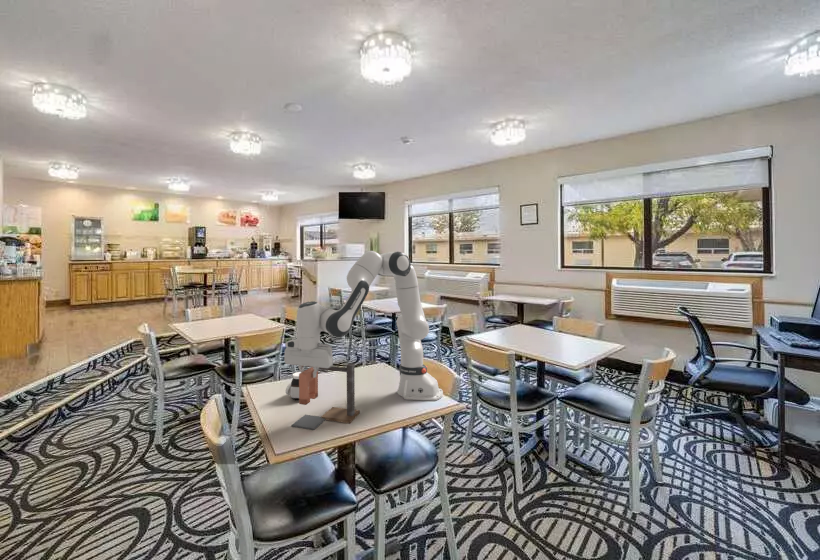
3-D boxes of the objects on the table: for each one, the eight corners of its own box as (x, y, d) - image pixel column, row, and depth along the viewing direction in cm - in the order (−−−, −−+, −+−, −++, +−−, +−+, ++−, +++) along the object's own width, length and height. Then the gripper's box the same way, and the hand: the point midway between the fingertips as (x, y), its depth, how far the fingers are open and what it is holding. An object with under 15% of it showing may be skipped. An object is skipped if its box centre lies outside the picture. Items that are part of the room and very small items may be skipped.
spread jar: (305, 402, 166) (305, 377, 165) (280, 402, 166) (280, 377, 165) (312, 392, 178) (312, 369, 177) (289, 392, 178) (289, 369, 177)
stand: (360, 413, 154) (359, 361, 153) (350, 423, 145) (349, 368, 143) (324, 408, 159) (323, 358, 158) (312, 418, 149) (311, 365, 148)
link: (318, 396, 148) (317, 367, 148) (306, 404, 140) (305, 374, 139) (311, 395, 149) (311, 367, 149) (299, 404, 141) (299, 373, 140)
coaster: (326, 418, 149) (326, 417, 149) (313, 429, 139) (313, 428, 139) (305, 415, 151) (305, 414, 151) (291, 426, 142) (291, 425, 142)
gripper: (335, 342, 143) (335, 376, 144) (291, 339, 149) (291, 371, 150) (328, 346, 137) (328, 381, 138) (281, 342, 143) (282, 376, 144)
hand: (308, 376), depth 144 cm, fingers closed on link, 3 cm apart
